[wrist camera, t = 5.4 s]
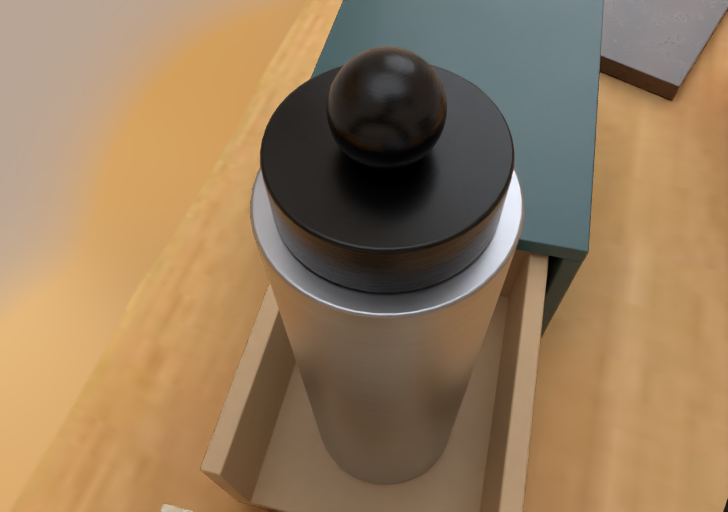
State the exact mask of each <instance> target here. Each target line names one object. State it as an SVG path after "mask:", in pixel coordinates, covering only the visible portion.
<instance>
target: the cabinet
mask: <svg viewBox="0 0 728 512" xmlns="http://www.w3.org/2000/svg"><path fill="white" fill-rule="evenodd" d="M603 8H604V0H343V2H342V4H341V7H340V9H339V11H338V14H337V16H336V19H335V21H334V24H333V26H332V28H331V31H330V33H329V36H328V38H327V40H326V43H325V45H324V48H323V50H322V52H321V55H320V57H319V60H318V62H317V64H316V67H315V69H314V72H313V74H312V76H311V78H313V77H315V76H317V75H319V74H321V73H323V72H325V71H328V70H330V69H333V68H336V67H339V66H342V65H345V64H346V63H347V62H348V61H349V60H350V59H352V58H353V57H355V56H356V55H358V54H360V53H362V52H364V51H366V50H369V49H373V48H377V47H397V48H402V49H405V50H408V51H411V52H413V53H415V54H417V55H418V56H420V57H421V58H423V59H424V60H425V61H426V62H428V63H429V64H430V65H434V66H437V67H440V68H443V69H445V70H448V71H451V72H453V73H455V74H457V75H459V76H461V77H463V78H465V79H466V80H468V81H469V82H471V83H472V84H474V85H475V86H477V87H478V88H479V89H480V90H482V91H483V92H484V93H485V94H486V95H487V96H488V97H489V98H490V99H491V100H492V101H493V102H494V103H495V104H496V106H497V107H498V109H499V110H500V112H501V113H502V114H503V116H504V118H505V120H506V122H507V124H508V126H509V129H510V132H511V135H512V139H513V144H514V151H515V162H514V168H515V170H516V172H517V174H518V177H519V180H520V183H521V187H522V190H523V198H524V221H523V227H522V232H521V235H520V238H519V241H518V244H517V247H516V250H522V251H527V252H532V253H538V254H543V255H549V260H548V270H547V280H546V289H545V299H544V309H543V319H542V329H541V337H542V335H543V334H544V331H545V330H546V328H547V326H548V324H549V322H550V320H551V319H552V317H553V315H554V313H555V311H556V310H557V308H558V306H559V304H560V302H561V300H562V299H563V297H564V295H565V293H566V291H567V290H568V288H569V286H570V284H571V282H572V280H573V279H574V277H575V275H576V273H577V271H578V269H579V268H580V266H581V264H582V262H583V261H584V259H585V257H586V255H587V254H588V252H589V236H590V220H591V204H592V187H593V171H594V155H595V139H596V122H597V106H598V90H599V73H600V57H601V41H602V24H603Z"/></svg>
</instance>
